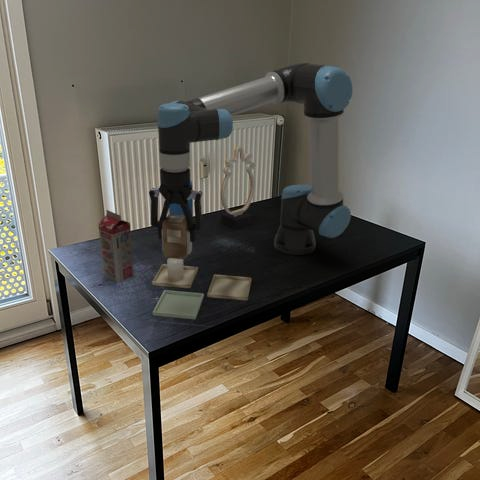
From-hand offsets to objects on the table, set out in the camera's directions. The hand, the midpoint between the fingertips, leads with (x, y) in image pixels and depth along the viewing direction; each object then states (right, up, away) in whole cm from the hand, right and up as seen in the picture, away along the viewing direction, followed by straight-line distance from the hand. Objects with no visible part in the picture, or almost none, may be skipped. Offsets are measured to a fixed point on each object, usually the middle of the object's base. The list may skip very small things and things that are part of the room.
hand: (177, 250), depth 129 cm
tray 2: (0, -16, +8) cm, 18 cm away
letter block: (0, -1, 0) cm, 1 cm away
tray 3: (+14, -12, +17) cm, 25 cm away
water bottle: (-6, +6, +57) cm, 57 cm away
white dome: (-3, -9, +22) cm, 24 cm away
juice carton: (-22, -9, +23) cm, 33 cm away
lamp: (+15, +10, +66) cm, 68 cm away
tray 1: (-3, -9, +23) cm, 25 cm away
